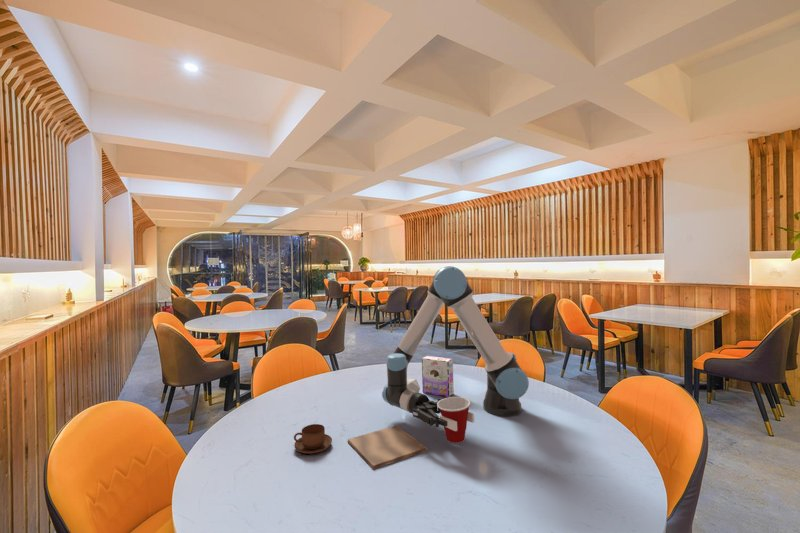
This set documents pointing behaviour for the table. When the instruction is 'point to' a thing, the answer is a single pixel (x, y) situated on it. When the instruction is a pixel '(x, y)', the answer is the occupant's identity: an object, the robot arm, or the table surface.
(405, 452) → the walnut board
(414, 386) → the die
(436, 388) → the candy box
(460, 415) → the plastic cup
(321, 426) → the cup and saucer
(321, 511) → the table surface
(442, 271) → the robot arm
